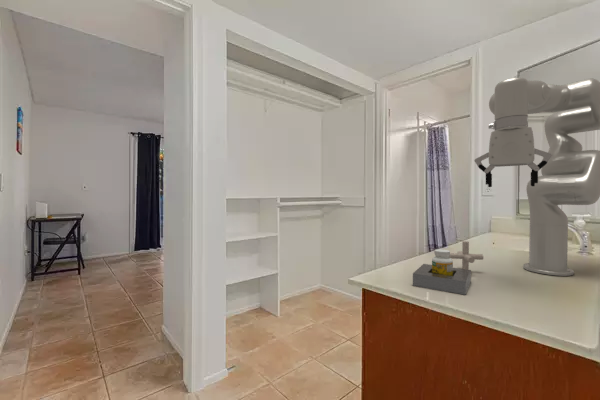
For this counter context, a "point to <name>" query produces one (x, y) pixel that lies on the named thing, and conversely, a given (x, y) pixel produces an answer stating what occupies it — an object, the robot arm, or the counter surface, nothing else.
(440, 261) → the supplement bottle
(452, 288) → the socket block
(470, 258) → the pipe connector
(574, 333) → the counter surface
